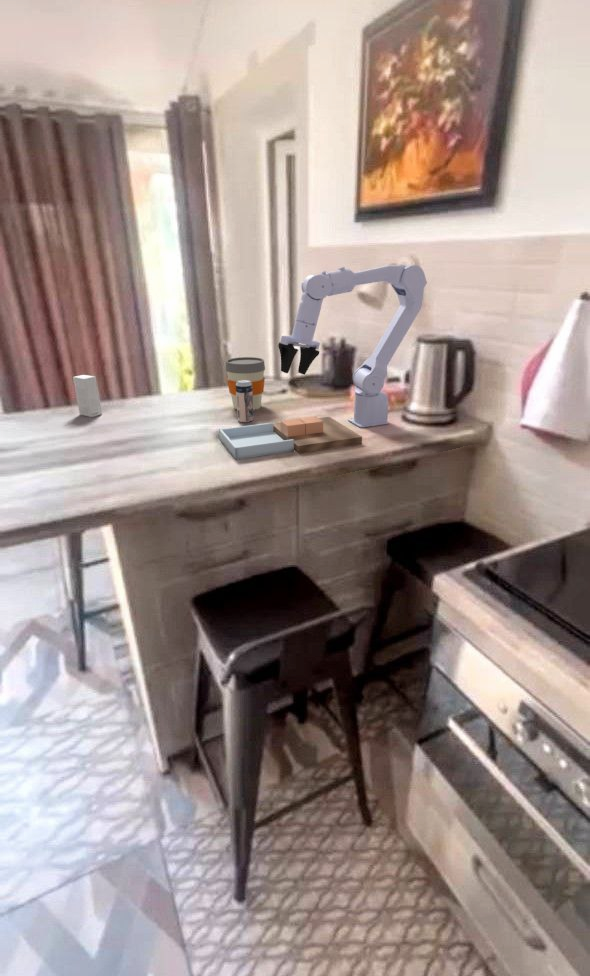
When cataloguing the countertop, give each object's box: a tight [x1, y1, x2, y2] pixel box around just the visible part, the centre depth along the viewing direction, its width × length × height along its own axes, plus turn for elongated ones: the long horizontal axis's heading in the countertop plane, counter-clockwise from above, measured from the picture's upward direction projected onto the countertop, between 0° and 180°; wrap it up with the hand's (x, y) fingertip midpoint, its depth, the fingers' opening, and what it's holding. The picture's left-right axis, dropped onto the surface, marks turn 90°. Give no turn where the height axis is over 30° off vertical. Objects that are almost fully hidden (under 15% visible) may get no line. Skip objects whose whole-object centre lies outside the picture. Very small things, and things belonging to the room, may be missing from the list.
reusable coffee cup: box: [225, 356, 266, 411], centre depth 165 cm, size 13×13×15 cm
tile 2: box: [298, 416, 323, 434], centre depth 138 cm, size 5×5×3 cm
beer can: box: [236, 380, 255, 423], centre depth 152 cm, size 5×5×12 cm
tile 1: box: [280, 418, 305, 437], centre depth 136 cm, size 5×5×3 cm
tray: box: [218, 422, 295, 460], centre depth 134 cm, size 15×16×3 cm
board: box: [273, 416, 363, 454], centre depth 139 cm, size 18×20×2 cm
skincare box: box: [72, 374, 103, 418], centre depth 159 cm, size 6×4×12 cm
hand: (293, 372), depth 141 cm, fingers open, 7 cm apart
